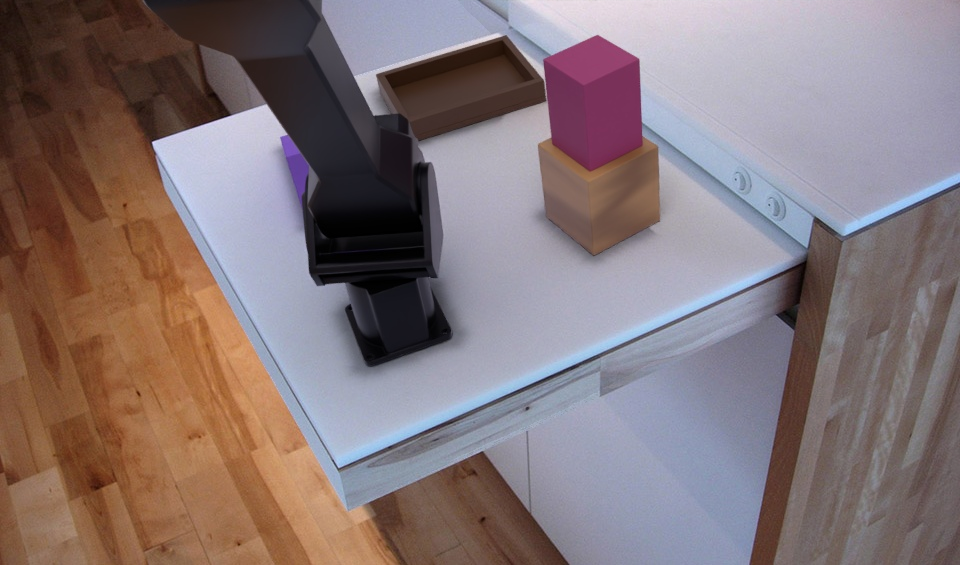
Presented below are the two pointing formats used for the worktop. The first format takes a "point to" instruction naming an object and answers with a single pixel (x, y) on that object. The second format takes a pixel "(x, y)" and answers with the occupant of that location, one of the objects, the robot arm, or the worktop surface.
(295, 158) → the purple block
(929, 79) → the worktop surface
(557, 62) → the mulberry block
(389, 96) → the tray
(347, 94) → the robot arm
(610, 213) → the oak block
